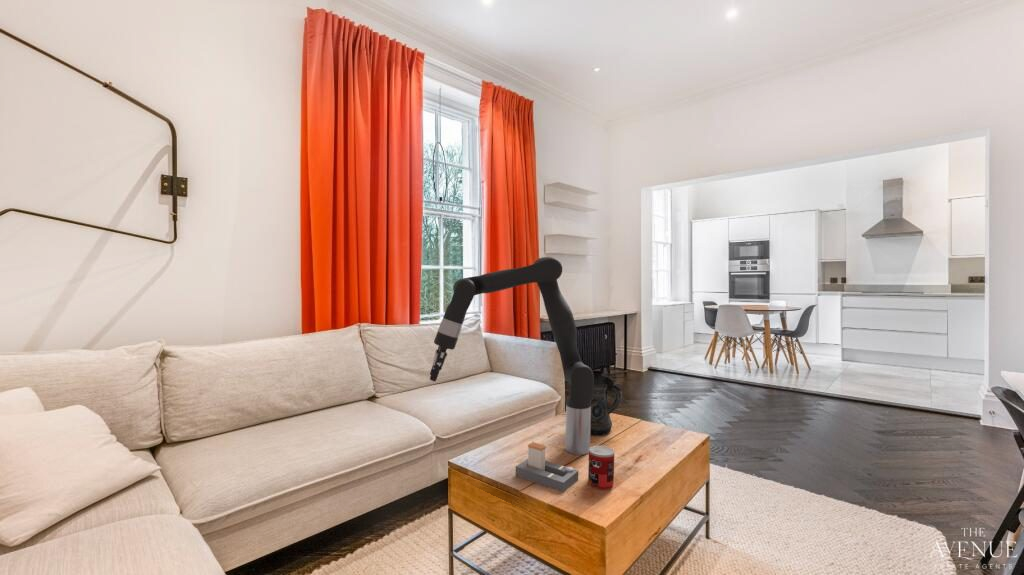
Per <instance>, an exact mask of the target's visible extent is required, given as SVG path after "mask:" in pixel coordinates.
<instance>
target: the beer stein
mask: <svg viewBox="0 0 1024 575" xmlns="http://www.w3.org/2000/svg"><path fill="white" fill-rule="evenodd" d="M592 371H593V374H594V391H593V399H592V401H591V429H590V436H592V435H593V437H596V436H597V437H599V436H600V437H602V436H605V435H608V434H610V433H611V429H612V427H613V422H612V419H611V416H610V414H612V413H613V412H614V411H615V410H616V409H617V408H619V406H620V404H621V403H622V400H623V391H622V389H621V387H620V386H619V385H618V384H617V383H615V381H614V379H613V377H611V376H606V375H605V374H604V373H603V372H602V371H598V370H592ZM608 391H610V392H614V393H615V395H616V397H615V399H614V401H613V402H612V404H611V405H610V406H609V398H608V397H609V396H608Z"/></svg>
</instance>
